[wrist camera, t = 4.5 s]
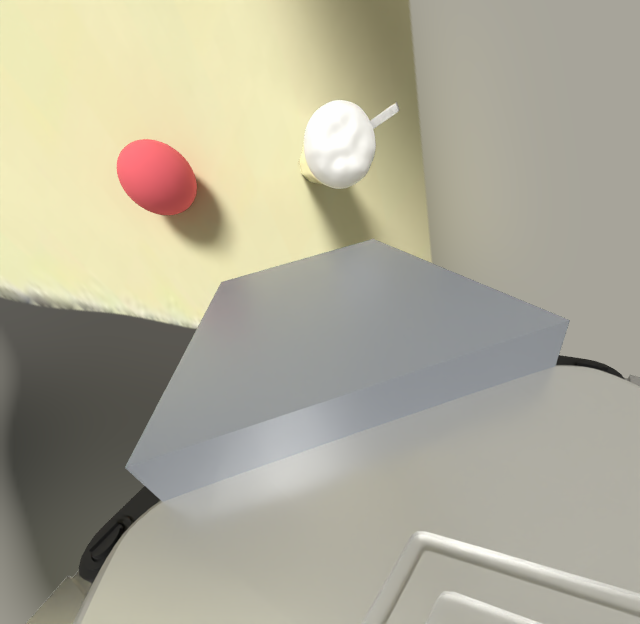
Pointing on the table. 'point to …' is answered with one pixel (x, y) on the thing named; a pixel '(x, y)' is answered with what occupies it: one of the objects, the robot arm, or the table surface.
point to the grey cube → (331, 360)
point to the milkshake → (340, 143)
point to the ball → (156, 177)
